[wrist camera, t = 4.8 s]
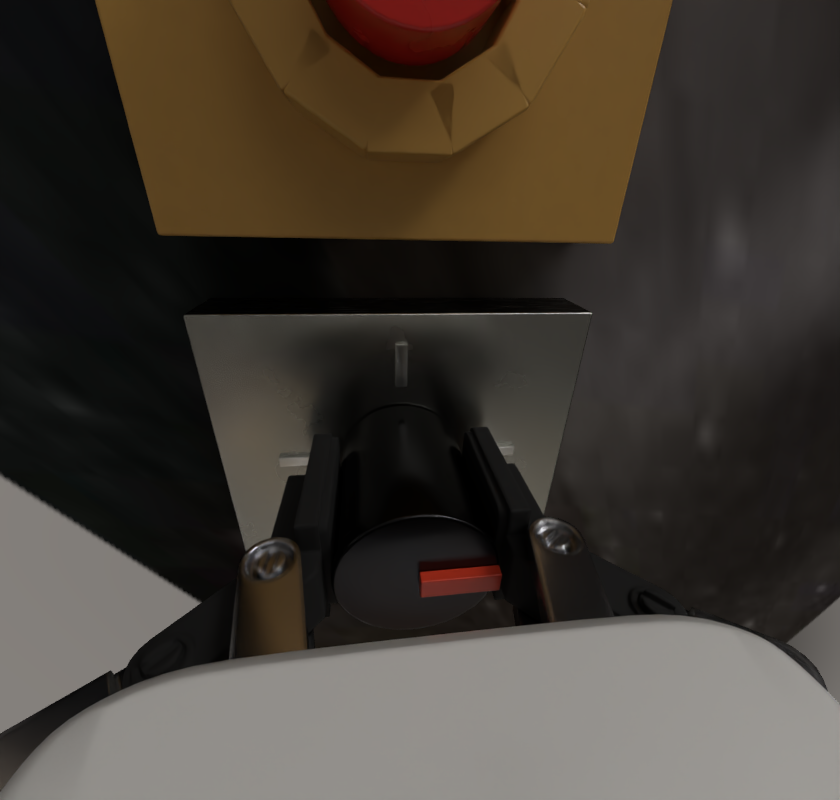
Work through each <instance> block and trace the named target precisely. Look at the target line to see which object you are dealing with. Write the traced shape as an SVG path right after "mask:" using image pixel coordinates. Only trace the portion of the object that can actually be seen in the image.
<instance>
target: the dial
mask: <svg viewBox="0 0 840 800" xmlns="http://www.w3.org/2000/svg"><path fill="white" fill-rule="evenodd" d="M498 564H499V560H498V553H497V550H496V547H495V544H494V541H493V539H492V536H491V533H490V531H489V528H488V525H487V522H486V520H485V517H484V514H483V512H482V509H481V506H480V504H479V501H478V498H477V495H476V493H475V490H474V487H473V485H472V482H471V479H470V477H469V474H468V471H467V468H466V466H465V463H464V460H463V458H462V455H461V452H460V450H459V447H458V444H457V441H456V439H455V436H454V434H453V432H452V430H451V428H450V427H449V426H448V424H447V423H446V422H445V421H444V420H443V419H441V418H440V417H439V416H437V415H436V414H434V413H432V412H430V411H428V410H425V409H422V408H419V407H413V406H393V407H388V408H384V409H381V410H378V411H376V412H374V413H372V414H370V415H368V416H367V417H365V418H364V419H362V420H361V421H360V422H359V423H358V424H357V425H356V426H355V427H354V428H353V429H352V431H351V432H350V433H349V435H348V437H347V439H346V441H345V444H344V448H343V456H342V467H341V477H340V488H339V499H338V509H337V520H336V531H335V541H334V552H333V563H332V574H331V585H332V589H333V592H334V595H335V597H336V599H337V601H338V602H339V604H340V605H341V607H342V608H343V609H344V610H345V611H346V612H347V613H349V614H350V615H351V616H353V617H354V618H356V619H358V620H360V621H362V622H364V623H367V624H369V625H373V626H376V627H381V628H386V629H398V630H407V629H418V628H425V627H430V626H434V625H437V624H441V623H444V622H446V621H449V620H451V619H454V618H456V617H458V616H460V615H462V614H463V613H465V612H467V611H468V610H470V609H471V608H472V607H474V606H475V605H476V604H477V603H479V602H480V601H481V600H482V599H483V598H484V597H485V595H486V594H487V593H488V592H489V591H495V590H499V589H500V584H501V578H502V573H501V570H500V567H499V565H498Z"/></svg>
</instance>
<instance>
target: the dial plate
mask: <svg viewBox="0 0 840 800" xmlns="http://www.w3.org/2000/svg"><path fill="white" fill-rule="evenodd" d="M591 317H592V312H590V311H588V310H586V309H584V308H582V307H580V306H578V305H576V304H574V303H572V302H570V301H568V300H566V299H564V298H210V299H208V300H206V301H205V302H203V303H202V304H200V305H198V306H197V307H195V308H194V309H192V310H191V311H189V312H187V313H186V314H184V321H185V324H186V328H187V332H188V336H189V339H190V343H191V347H192V351H193V355H194V358H195V362H196V366H197V370H198V373H199V377H200V381H201V385H202V389H203V392H204V396H205V400H206V404H207V407H208V411H209V415H210V419H211V423H212V426H213V430H214V434H215V438H216V441H217V445H218V449H219V453H220V457H221V460H222V464H223V468H224V472H225V476H226V479H227V483H228V487H229V491H230V494H231V498H232V502H233V506H234V510H235V513H236V517H237V521H238V525H239V528H240V532H241V536H242V540H243V544H244V547H245V551H247V550H248V549H249V548H250V547H252V546H253V545H255V544H256V543H258V542H260V541H262V540H265V539H268V538H271V535H272V532H273V528H274V525H275V521H276V518H277V514H278V511H279V507H280V504H281V500H282V496H283V493H284V489H285V486H286V482H287V479H288V477H289V476H290V475H305V473H306V469H307V464H308V460H309V455H310V451H311V446H312V442H313V437H314V434H327V433H332V436H333V438H336V437H338V438H339V446H340V458H341V467H342V456H343V448H344V444H345V441H346V439H347V437H348V435H349V433H350V432H351V431H352V429H353V428H354V427H355V426H356V425H357V424H358V423H359V422H360V421H361V420H362V419H364V418H365V417H367V416H368V415H370V414H372V413H374V412H376V411H378V410H381V409H384V408H388V407H393V406H413V407H419V408H422V409H425V410H428V411H430V412H432V413H434V414H436V415H437V416H439V417H440V418H441V419H443V420H444V421H445V422H446V423H447V424H448V426H449V427H450V428H451V430H452V432H453V434H454V436H455V439H456V441H457V444H458V447H459V450H460V452H461V455H462V451H463V440H464V433H465V432H469V430H470V428H471V427H488V428H489V430H490V432H491V434H492V436H493V438H494V440H495V442H496V444H497V445H498V447H499V449H500V451H501V453H502V455H503V457H504V459H505V461H506V462H507V463H513V464H515V465H516V466H517V468H518V470H519V472H520V473H521V475H522V477H523V479H524V481H525V482H526V484H527V486H528V488H529V489H530V491H531V493H532V495H533V497H534V498H535V500H536V502H537V504H538V506H539V507H540V509H541V511H542V513H543V515H544V513H545V509H546V505H547V501H548V497H549V492H550V488H551V484H552V480H553V476H554V472H555V467H556V463H557V459H558V455H559V451H560V447H561V442H562V438H563V434H564V430H565V426H566V422H567V417H568V413H569V409H570V405H571V401H572V397H573V392H574V388H575V384H576V380H577V376H578V372H579V367H580V363H581V359H582V355H583V351H584V347H585V342H586V338H587V334H588V330H589V326H590V322H591Z"/></svg>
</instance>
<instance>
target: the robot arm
mask: <svg viewBox="0 0 840 800" xmlns="http://www.w3.org/2000/svg"><path fill="white" fill-rule="evenodd" d="M462 458H463V460H464V463H465V466H466V468H467V471H468V474H469V477H470V479H471V482H472V485H473V487H474V490H475V493H476V495H477V498H478V501H479V504H480V506H481V509H482V512H483V514H484V517H485V520H486V522H487V525H488V528H489V531H490V533H491V536H492V539H493V541H494V544H495V547H496V550H497V553H498V560H499V564H498V565H499V567H500V570H501V573H502V578H501V584H500V589H499V590H495V591H492V593H493V596H494V599H495V600H499V599H505V600H506V601H508V602H509V603H511V604H512V605H513V614H514V621H515V626H514V627H505V628H495V629H486V630H477V631H468V632H458V633H449V634H440V635H431V636H422V637H413V638H404V639H395V640H386V641H377V642H368V643H360V644H351V645H342V646H334V647H325V648H316V649H315V640H314V629H313V628H314V627H316V626H317V625H318V624H319V623H320V622H321V621H322V620H323V619H324V618H325V617H329V616H330V604H332V603H337V602H338V601H337V599H336V597H335V595H334V592H333V589H332V585H331V574H332V563H333V552H334V541H335V531H336V520H337V509H338V499H339V488H340V477H341V458H340V446H339V438H338V437H336V438H333V436H332V433H327V434H314V437H313V442H312V446H311V451H310V455H309V460H308V464H307V469H306V473H305V475H290V476H289V477H288V479H287V482H286V486H285V489H284V493H283V496H282V500H281V504H280V507H279V511H278V514H277V518H276V521H275V525H274V528H273V532H272V535H271V538H268V539H265V540H262V541H260V542H258V543H256V544H255V545H253V546H252V547H250V548H249V549H248V550H247V551H246V552H245V553H244V555H243V556H242V558H241V559H240V562H239V566H238V573H237V578H236V579H234V580H233V581H232V582H230V583H229V584H227V585H226V586H225V587H223V588H222V589H220V590H219V591H218V592H216V593H215V594H213V595H212V596H211V597H209V598H208V599H206V600H205V601H204V602H202V603H201V604H199V605H198V606H197V607H195V608H194V609H192V610H191V611H190V612H188V613H187V614H185V615H184V616H183V617H181V618H180V619H178V620H177V621H176V622H174V623H173V624H171V625H170V626H169V627H167V628H166V629H164V630H163V631H162V632H160V633H159V634H157V635H156V636H155V637H153V638H152V639H150V640H149V641H148V642H147V643H146V644H144V645H143V646H142V647H141V648H140V649H139V650H138V651H137V653H136V654H135V655H134V656H133V657H132V659H131V660H130V662H129V664H128V666H127V667H126V668H124V669H123V670H121V671H119V672H118V673H116V674H113V673H112V671H109V672H107V673H105V674H104V675H102V676H100V677H98V678H97V679H95V680H93V681H91V682H90V683H88V684H86V685H84V686H83V687H81V688H79V689H77V690H76V691H74V692H72V693H70V694H69V695H67V696H65V697H64V698H62V699H60V700H58V701H56V702H55V703H53V704H51V705H49V706H48V707H46V708H44V709H42V710H41V711H39V712H37V713H36V714H34V715H32V716H30V717H28V718H27V719H25V720H23V721H22V722H20V723H18V724H16V725H14V726H13V727H11V728H9V729H7V730H6V731H4V732H2V733H1V734H0V800H840V703H838V701H837V700H836V699H834V697H833V696H832V695H830V693H829V692H828V690H827V688H826V685H825V683H824V680H823V678H822V676H821V675H820V673H819V672H818V670H817V668H816V667H815V666H814V665H813V664H812V662H811V661H810V660H809V659H808V658H807V657H806V656H805V655H803V654H802V653H800V652H799V651H798V650H796V649H795V648H793V647H792V646H790V645H788V644H786V643H784V642H782V641H780V640H778V639H775V638H772V637H770V636H767V635H765V634H762V633H759V632H757V631H754V630H751V629H749V628H746V627H744V626H741V625H738V624H736V623H733V622H730V621H728V620H725V619H722V618H720V617H717V616H715V615H712V614H709V613H707V612H704V611H701V610H699V609H696V608H693V607H691V609H690V610H689V611H688V610H685V609H684V608H683V606H682V605H681V604H680V602H679V601H678V600H677V599H675V598H674V597H673V596H672V595H671V594H670V593H668V592H666V591H665V590H663V589H662V588H660V587H658V586H656V585H654V584H652V583H650V582H648V581H646V580H644V579H642V578H640V577H638V576H636V575H634V574H632V573H630V572H628V571H626V570H624V569H622V568H620V567H618V566H616V565H614V564H612V563H610V562H608V561H606V560H604V559H602V558H601V557H599V556H597V555H595V554H593V553H591V552H589V550H588V547H587V545H586V542H585V539H584V537H583V536H582V534H581V532H580V531H579V530H578V529H577V528H576V527H575V526H573V525H572V524H570V523H569V522H567V521H564V520H562V519H559V518H554V517H545V516H544V515H543V513H542V511H541V509H540V507H539V506H538V504H537V502H536V500H535V498H534V497H533V495H532V493H531V491H530V489H529V488H528V486H527V484H526V482H525V481H524V479H523V477H522V475H521V473H520V472H519V470H518V468H517V466H516V465H515V464H513V463H507V462H506V461H505V459H504V457H503V455H502V453H501V451H500V449H499V447H498V445H497V444H496V442H495V440H494V438H493V436H492V434H491V432H490V430H489V428H488V427H471V428H470V430H469V432H465V433H464V440H463V451H462Z"/></svg>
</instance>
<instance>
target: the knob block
mask: <svg viewBox="0 0 840 800" xmlns="http://www.w3.org/2000/svg"><path fill="white" fill-rule="evenodd" d="M672 1H673V0H501V2H500V3H499V5H498V6H497V8H496V9H495V11H494V12H493V14H492V15H491V17H490V18H489V20H488V21H487V22H486V24H485V25H484V26H483V28H482V29H481V30H480V32H479V33H478V34H477V35H476V36H475V37H474V38H473V39H472V40H471V42H470V43H469V44H468V45H466V46H465V47H464V48H462V49H461V50H460V51H459V52H457V53H456V54H454V55H452V56H450V57H448V58H447V59H444V60H442V61H439V62H436V63H433V64H427V65H421V66H409V65H403V64H397V63H394V62H391V61H388V60H385V59H383V58H381V57H379V56H377V55H375V54H373V53H372V52H370V51H369V50H367V49H366V48H365V47H363V46H362V45H361V44H359V43H358V42H357V41H356V40H355V39H354V38H353V37H352V36H351V35H350V34H349V33H348V32H347V31H346V30H345V28H344V27H343V26H342V25H341V24H340V22H339V21H338V20H337V18H336V17H335V15H334V14H333V12H332V11H331V9H330V8H329V6H328V4H327V2H326V0H95V2H96V6H97V10H98V13H99V17H100V21H101V25H102V28H103V32H104V36H105V40H106V43H107V47H108V51H109V54H110V58H111V62H112V66H113V69H114V73H115V77H116V80H117V84H118V88H119V92H120V95H121V99H122V103H123V106H124V110H125V114H126V118H127V121H128V125H129V129H130V133H131V136H132V140H133V144H134V147H135V151H136V155H137V159H138V162H139V166H140V170H141V173H142V177H143V181H144V185H145V188H146V192H147V196H148V199H149V203H150V207H151V211H152V214H153V218H154V222H155V226H156V229H157V232H158V234H159V235H162V236H217V237H271V238H326V239H381V240H436V241H491V242H546V243H601V244H611V243H613V241H614V238H615V234H616V230H617V226H618V222H619V218H620V214H621V210H622V206H623V201H624V197H625V193H626V189H627V185H628V181H629V177H630V173H631V169H632V165H633V161H634V156H635V152H636V148H637V144H638V140H639V136H640V132H641V128H642V124H643V120H644V116H645V112H646V107H647V103H648V99H649V95H650V91H651V87H652V83H653V79H654V75H655V71H656V67H657V62H658V58H659V54H660V50H661V46H662V42H663V38H664V34H665V30H666V26H667V22H668V17H669V13H670V9H671V5H672Z"/></svg>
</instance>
